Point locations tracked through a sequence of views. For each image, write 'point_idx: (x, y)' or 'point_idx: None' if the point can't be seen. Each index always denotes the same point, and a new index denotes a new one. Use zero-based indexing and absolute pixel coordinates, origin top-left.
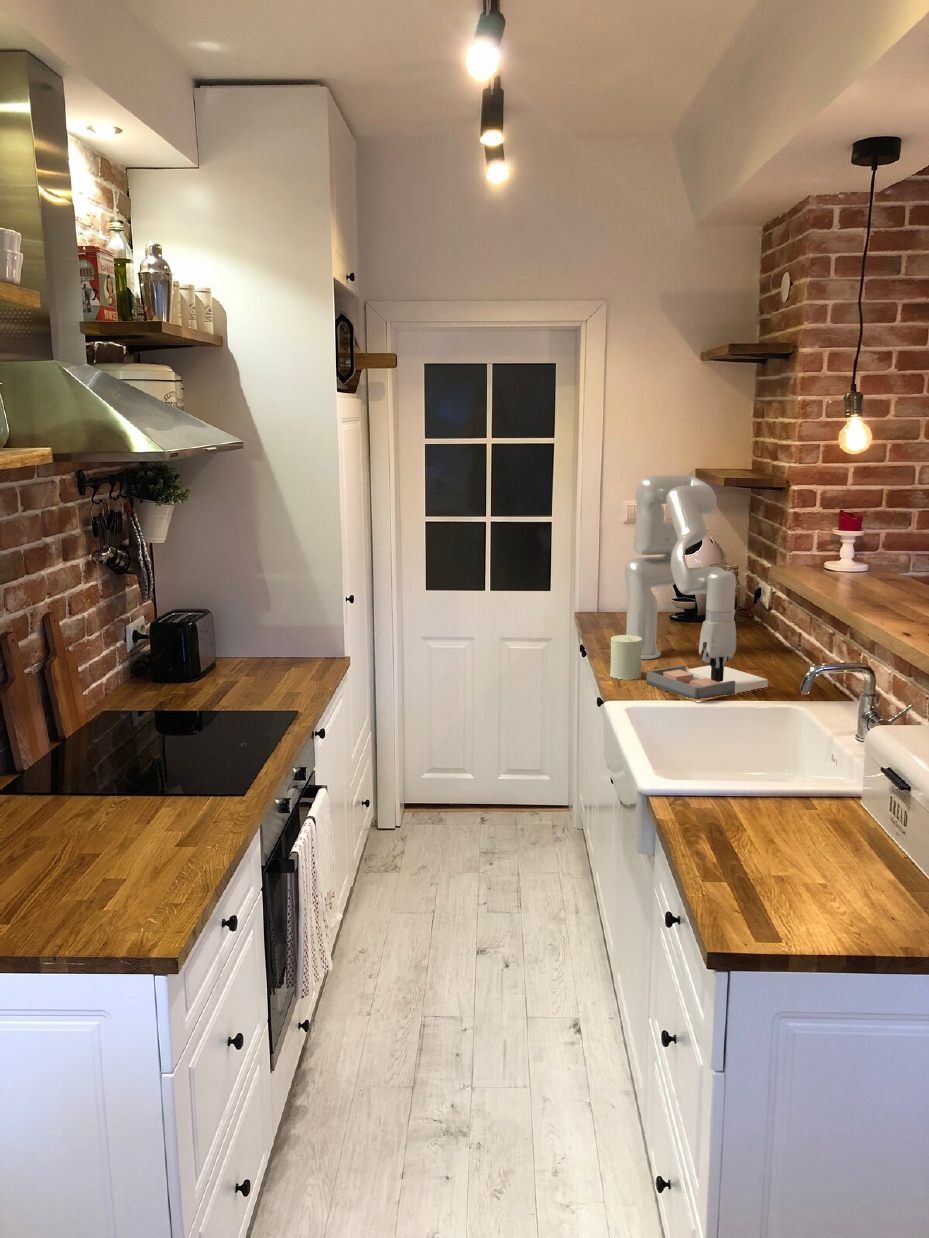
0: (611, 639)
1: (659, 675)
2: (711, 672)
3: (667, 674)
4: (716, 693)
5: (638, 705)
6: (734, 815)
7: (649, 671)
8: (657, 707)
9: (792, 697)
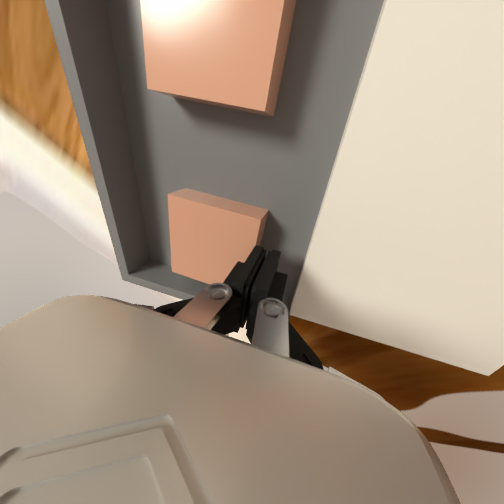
0: None
1: (50, 11)
2: (230, 273)
3: None
4: None
5: (20, 166)
6: None
7: None
8: (60, 211)
9: (384, 399)
